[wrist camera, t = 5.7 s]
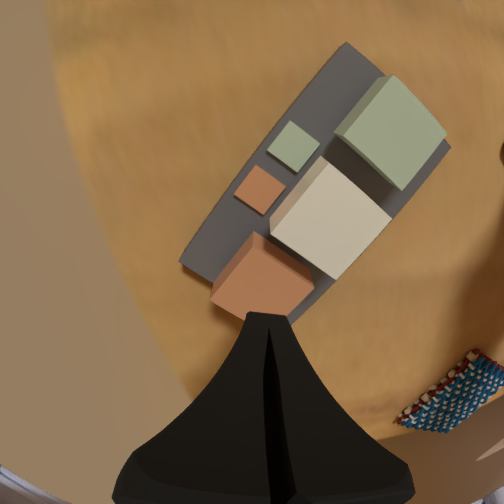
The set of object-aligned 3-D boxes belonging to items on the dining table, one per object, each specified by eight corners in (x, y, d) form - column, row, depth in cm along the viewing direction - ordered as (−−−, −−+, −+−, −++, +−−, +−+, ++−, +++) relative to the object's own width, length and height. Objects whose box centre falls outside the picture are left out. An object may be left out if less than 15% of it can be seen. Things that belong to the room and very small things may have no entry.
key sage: (415, 126, 12) (447, 133, 9) (376, 174, 13) (401, 191, 10) (368, 80, 11) (393, 74, 8) (326, 130, 12) (343, 135, 10)
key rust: (306, 256, 15) (314, 288, 12) (267, 298, 16) (267, 333, 14) (254, 220, 14) (252, 246, 12) (217, 267, 16) (209, 300, 13)
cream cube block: (367, 196, 13) (392, 219, 10) (323, 247, 14) (335, 280, 11) (314, 151, 12) (329, 162, 9) (268, 208, 13) (270, 233, 11)
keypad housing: (439, 143, 13) (453, 147, 11) (286, 314, 17) (288, 330, 16) (339, 47, 11) (347, 40, 10) (183, 250, 16) (177, 263, 15)
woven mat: (388, 414, 24) (393, 430, 22) (470, 340, 19) (481, 356, 18) (440, 424, 26) (445, 437, 24) (507, 365, 21) (515, 377, 20)
